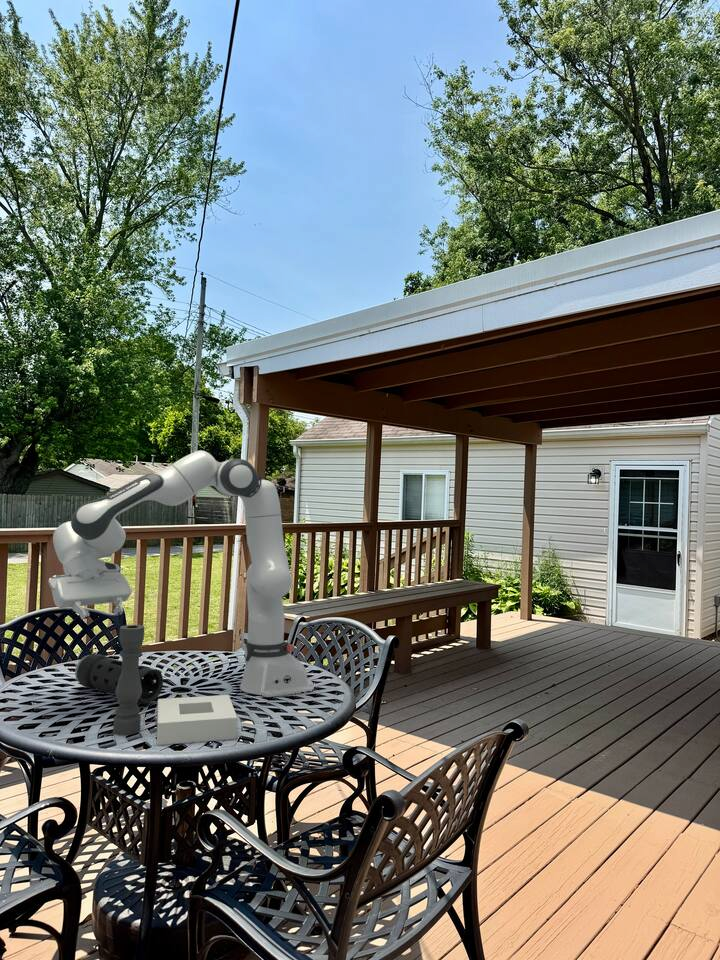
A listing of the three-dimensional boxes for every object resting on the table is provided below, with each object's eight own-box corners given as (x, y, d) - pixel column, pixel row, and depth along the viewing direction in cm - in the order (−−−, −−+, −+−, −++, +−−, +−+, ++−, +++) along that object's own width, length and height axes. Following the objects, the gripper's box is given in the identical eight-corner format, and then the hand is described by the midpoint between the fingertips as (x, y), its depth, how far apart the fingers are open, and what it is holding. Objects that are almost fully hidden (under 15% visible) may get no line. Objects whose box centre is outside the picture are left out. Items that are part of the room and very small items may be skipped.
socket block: (227, 713, 164) (228, 694, 164) (236, 738, 147) (237, 717, 147) (156, 718, 158) (158, 699, 158) (156, 745, 141) (158, 723, 141)
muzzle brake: (134, 711, 163) (136, 672, 164) (71, 691, 178) (73, 655, 178) (163, 702, 171) (165, 665, 172) (100, 684, 186) (102, 649, 186)
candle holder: (115, 726, 151) (120, 624, 153) (141, 725, 153) (147, 624, 154) (111, 735, 145) (116, 629, 147) (138, 734, 147) (144, 629, 148)
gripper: (51, 568, 155) (69, 612, 149) (123, 564, 172) (142, 604, 165) (41, 584, 157) (58, 628, 151) (113, 578, 174) (131, 618, 168)
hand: (103, 615), depth 158 cm, fingers open, 8 cm apart
